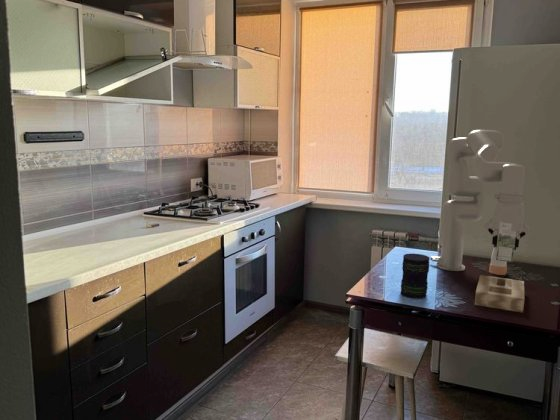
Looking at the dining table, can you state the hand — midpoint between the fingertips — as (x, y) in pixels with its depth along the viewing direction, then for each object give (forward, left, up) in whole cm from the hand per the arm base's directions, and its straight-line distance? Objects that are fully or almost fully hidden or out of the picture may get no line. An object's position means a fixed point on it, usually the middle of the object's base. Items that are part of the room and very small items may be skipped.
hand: (504, 247), depth 183 cm
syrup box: (0, 0, -5) cm, 5 cm away
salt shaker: (-2, +44, -21) cm, 49 cm away
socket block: (0, +5, -21) cm, 22 cm away
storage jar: (-30, -7, -21) cm, 37 cm away
